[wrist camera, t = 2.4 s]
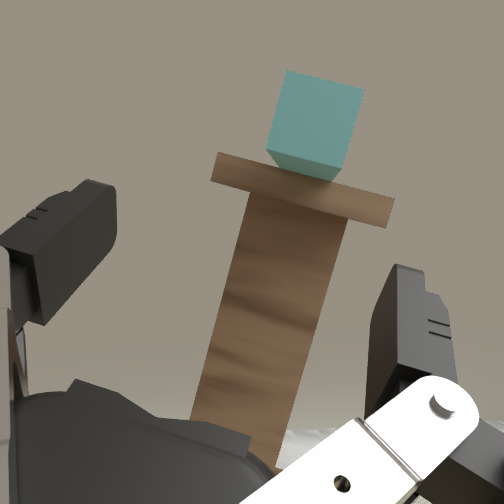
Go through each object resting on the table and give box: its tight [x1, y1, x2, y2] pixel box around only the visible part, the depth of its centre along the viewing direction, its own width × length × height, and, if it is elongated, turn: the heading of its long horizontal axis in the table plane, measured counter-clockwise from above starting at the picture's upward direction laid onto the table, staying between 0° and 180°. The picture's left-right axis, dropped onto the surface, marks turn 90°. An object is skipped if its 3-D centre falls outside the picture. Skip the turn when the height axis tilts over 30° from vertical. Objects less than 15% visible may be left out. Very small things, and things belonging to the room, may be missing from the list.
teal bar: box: [266, 71, 364, 182], centre depth 33 cm, size 26×4×4 cm, turn 172°
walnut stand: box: [190, 152, 395, 475], centre depth 42 cm, size 20×16×32 cm
